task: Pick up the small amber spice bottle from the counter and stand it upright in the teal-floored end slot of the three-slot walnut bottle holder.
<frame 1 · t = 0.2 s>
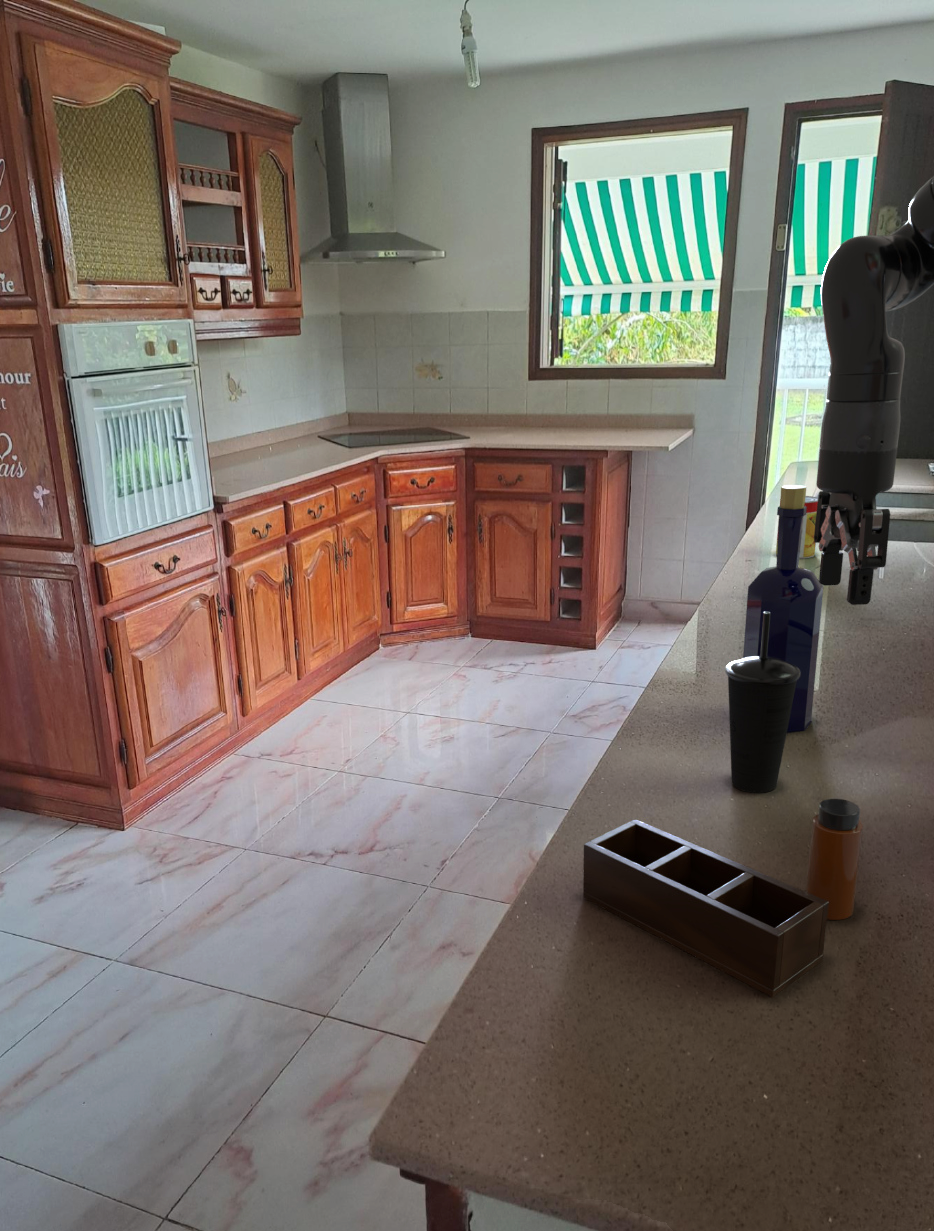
hand: (843, 593, 110), 20 cm above the counter, tool pointing down, fingers open, 8 cm apart
bottle: (774, 721, 129), on the counter
drinking cup: (753, 785, 112), on the counter
spice bottle: (828, 907, 88), on the counter
holder: (695, 927, 86), on the counter
canned food: (794, 555, 214), on the counter
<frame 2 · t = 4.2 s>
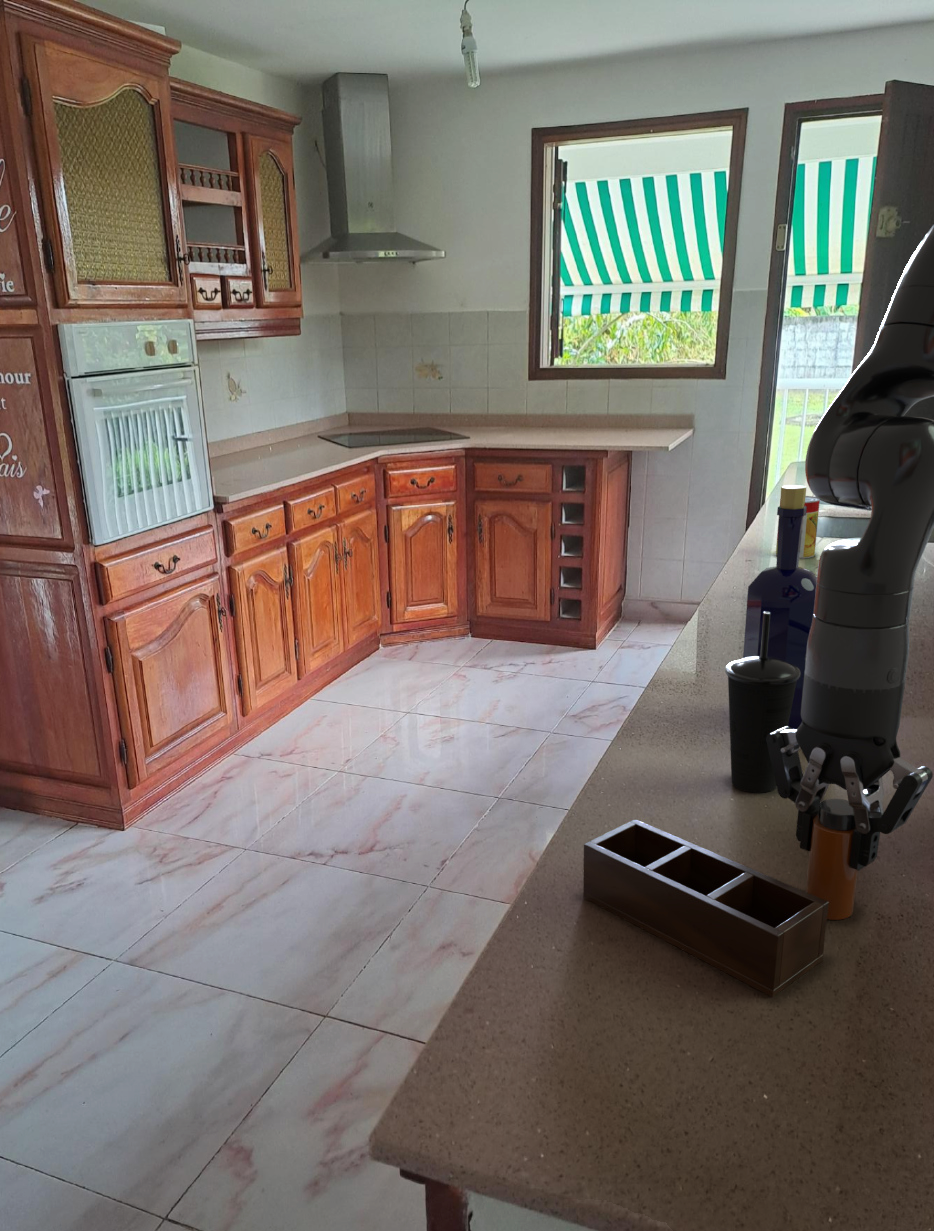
hand: (834, 855, 86), 5 cm above the counter, tool pointing down, fingers closed on spice bottle, 4 cm apart
spice bottle: (828, 907, 88), on the counter, touching gripper
everything else where it was.
when the fingers open (6 cm above the counter, at t = 11.4 s): spice bottle stays where it is, resting on holder.
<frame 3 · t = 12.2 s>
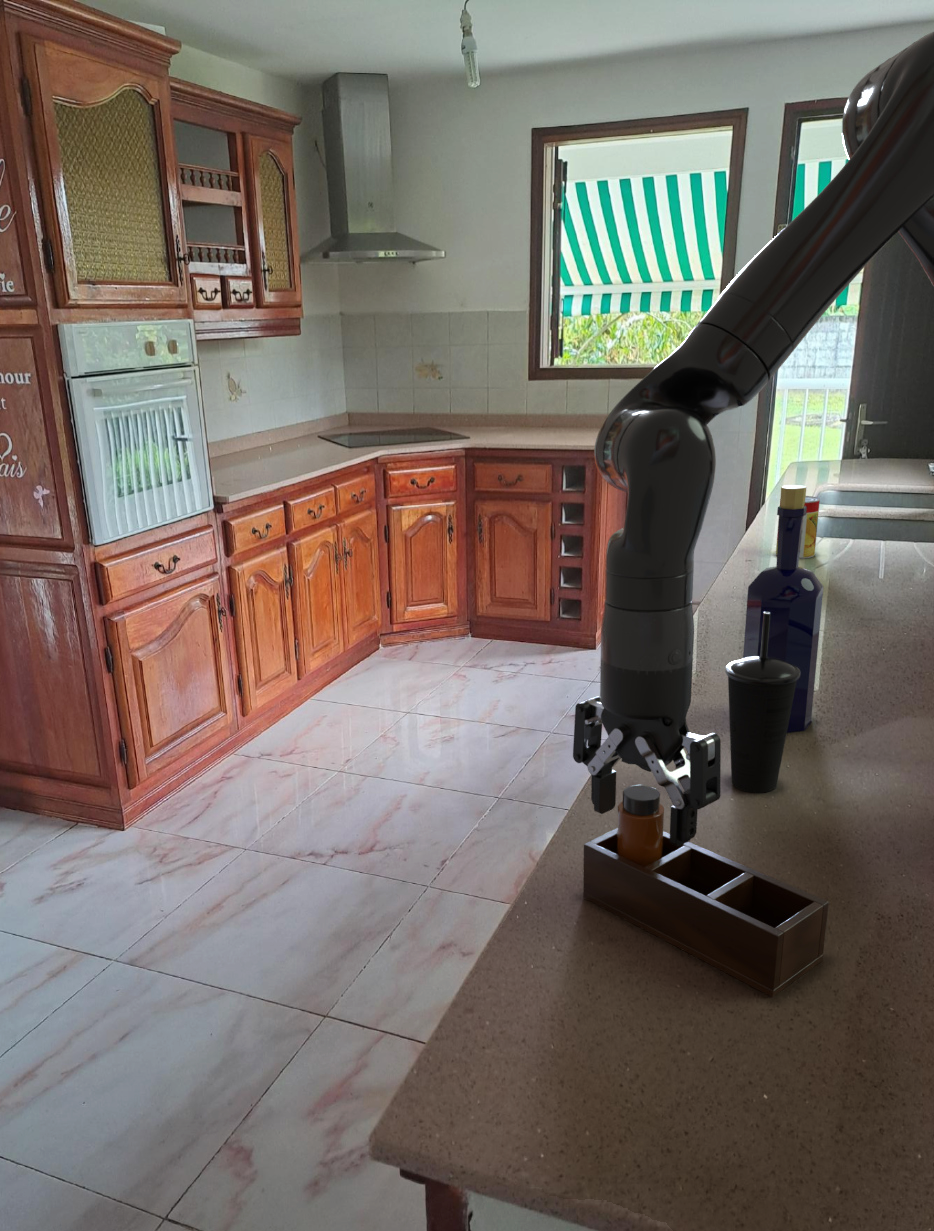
hand: (641, 825, 88), 8 cm above the counter, tool pointing down, fingers open, 8 cm apart
spice bottle: (638, 891, 91), point 1 cm above the counter, touching holder
everything else where it was.
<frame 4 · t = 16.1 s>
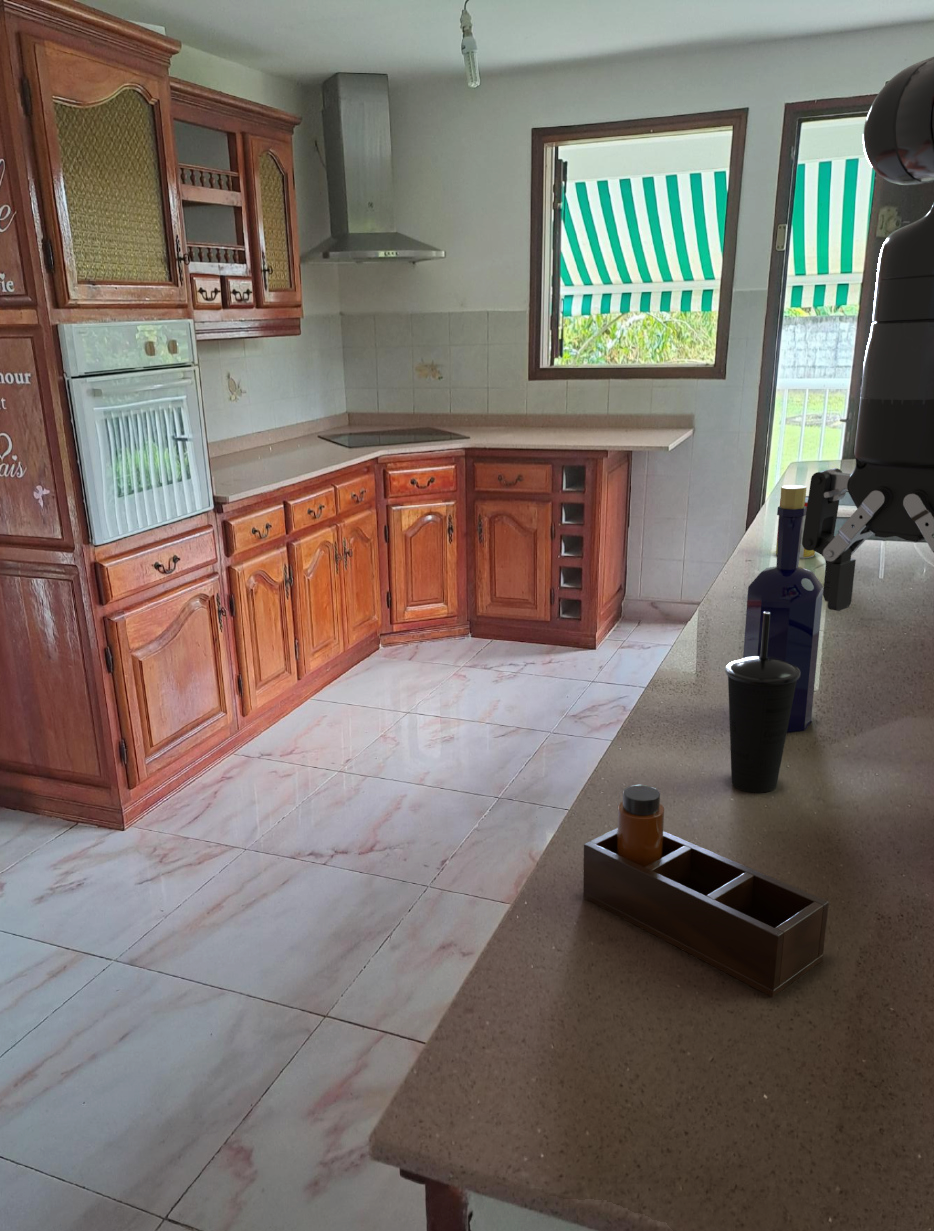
hand: (892, 618, 74), 28 cm above the counter, tool pointing down, fingers open, 8 cm apart
nothing on the counter moved.
at the end: spice bottle 0.0 cm from the target spot in the holder, point 0.8 cm above the holder's base; spice bottle tilted 0°; the gripper is holding nothing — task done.
